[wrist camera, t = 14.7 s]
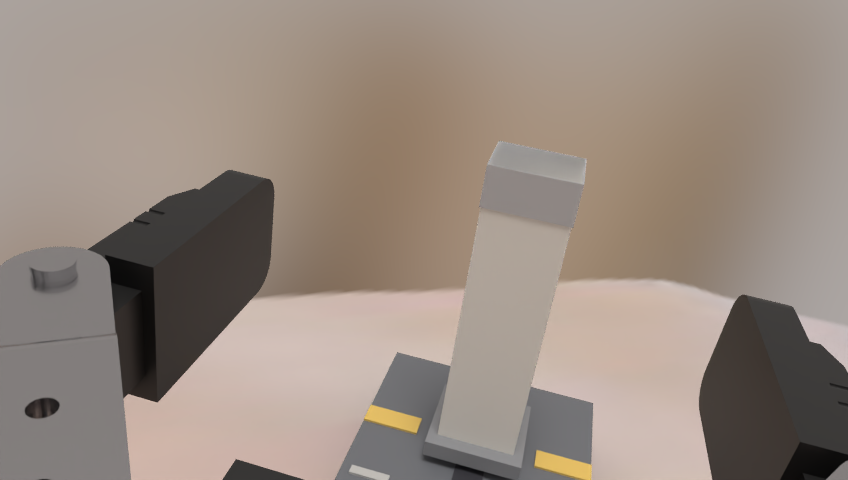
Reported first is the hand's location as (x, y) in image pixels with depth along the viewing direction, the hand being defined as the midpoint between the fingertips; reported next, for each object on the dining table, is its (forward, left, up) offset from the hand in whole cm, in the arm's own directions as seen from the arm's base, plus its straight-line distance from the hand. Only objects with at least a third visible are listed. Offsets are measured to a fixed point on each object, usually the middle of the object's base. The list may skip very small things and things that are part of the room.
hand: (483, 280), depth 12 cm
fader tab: (+8, +11, -15) cm, 20 cm away
